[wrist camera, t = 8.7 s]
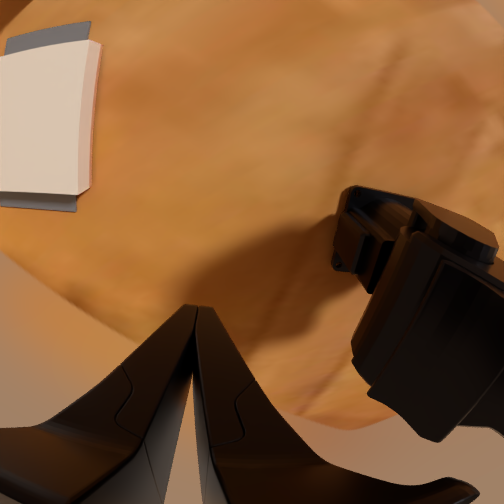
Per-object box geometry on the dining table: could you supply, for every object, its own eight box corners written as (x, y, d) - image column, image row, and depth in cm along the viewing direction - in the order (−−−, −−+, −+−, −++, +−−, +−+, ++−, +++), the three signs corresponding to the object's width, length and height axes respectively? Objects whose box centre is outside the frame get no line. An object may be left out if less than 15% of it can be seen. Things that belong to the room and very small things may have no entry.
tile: (89, 39, 13) (-6, 58, 12) (78, 195, 18) (-11, 190, 17) (103, 45, 15) (11, 59, 14) (91, 186, 20) (5, 182, 19)
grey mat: (91, 21, 15) (90, 21, 14) (76, 211, 20) (75, 211, 20) (8, 38, 14) (7, 38, 13) (1, 205, 20) (0, 206, 19)
